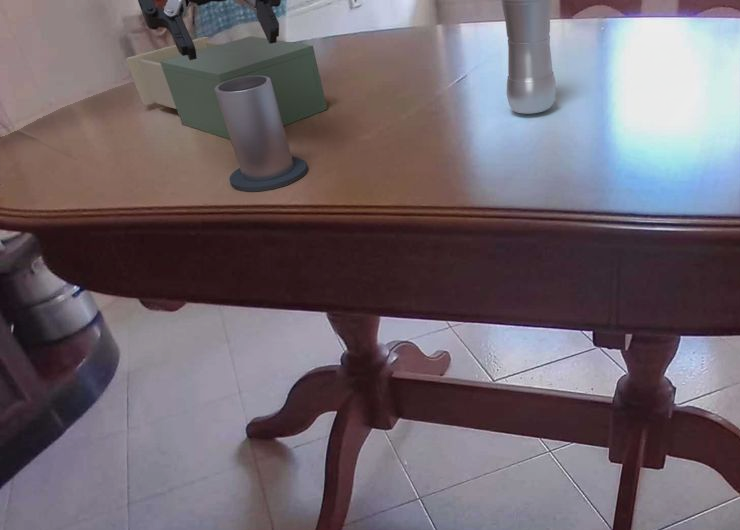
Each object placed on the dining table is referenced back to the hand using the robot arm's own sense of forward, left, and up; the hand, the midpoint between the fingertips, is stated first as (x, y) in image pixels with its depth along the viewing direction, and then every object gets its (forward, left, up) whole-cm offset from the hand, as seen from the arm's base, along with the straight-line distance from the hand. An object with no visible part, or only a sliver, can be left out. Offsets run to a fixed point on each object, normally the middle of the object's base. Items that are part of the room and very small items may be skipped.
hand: (234, 46), depth 73 cm
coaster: (0, +1, -15) cm, 15 cm away
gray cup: (0, +1, -14) cm, 14 cm away
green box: (+12, +23, -15) cm, 30 cm away
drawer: (+12, +39, -14) cm, 43 cm away
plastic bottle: (+32, -13, -15) cm, 38 cm away
